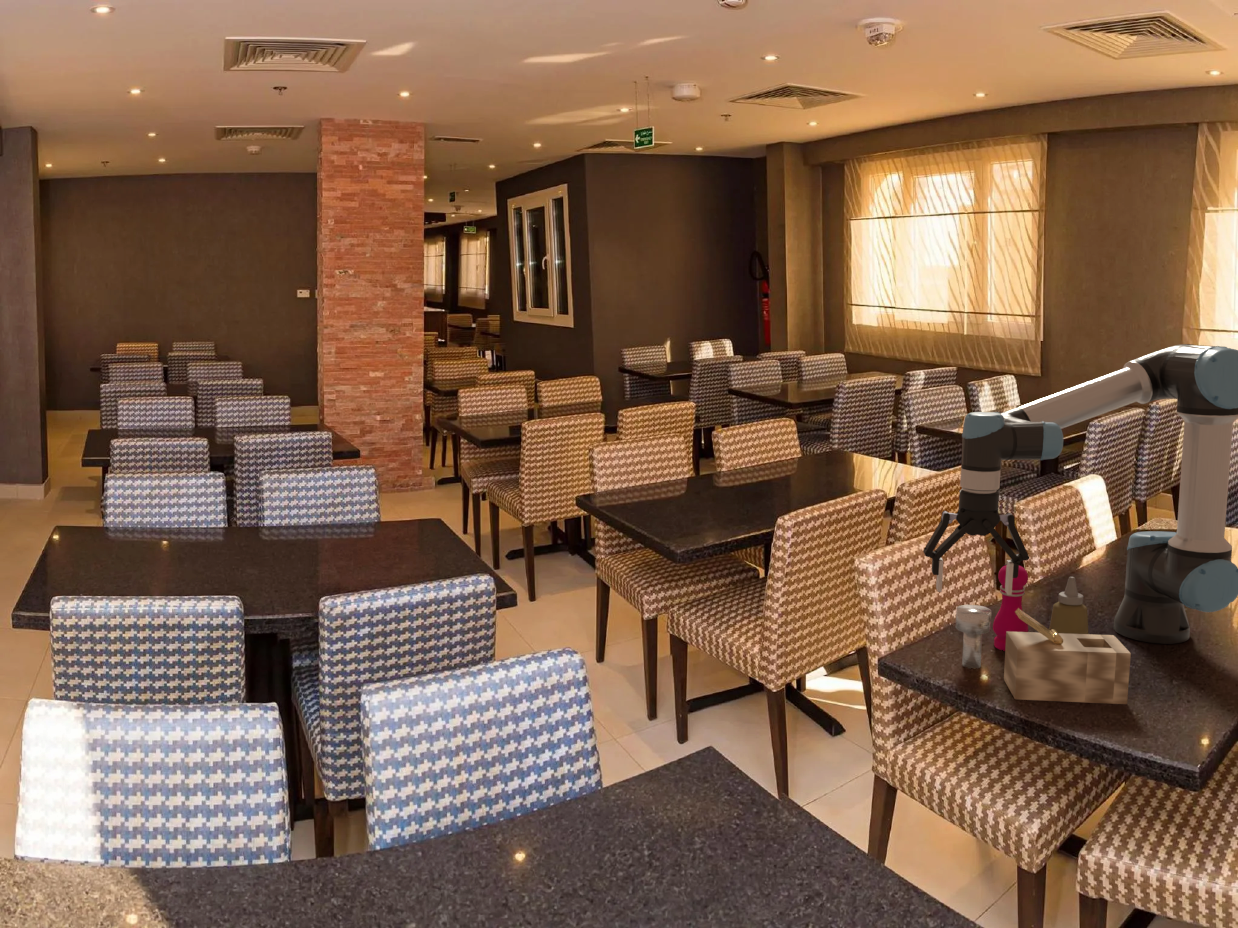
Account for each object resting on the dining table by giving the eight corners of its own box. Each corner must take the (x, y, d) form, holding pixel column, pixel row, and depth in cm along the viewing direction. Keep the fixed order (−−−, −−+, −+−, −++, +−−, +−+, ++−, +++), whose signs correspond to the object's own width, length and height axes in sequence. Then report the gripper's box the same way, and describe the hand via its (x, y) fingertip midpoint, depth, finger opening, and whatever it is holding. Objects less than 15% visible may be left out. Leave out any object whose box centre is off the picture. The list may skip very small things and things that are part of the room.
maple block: (1110, 683, 201) (1113, 635, 199) (1126, 704, 191) (1130, 653, 189) (1003, 679, 204) (1006, 631, 202) (1014, 699, 194) (1017, 648, 192)
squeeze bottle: (1085, 670, 208) (1090, 585, 204) (1042, 663, 212) (1047, 579, 209) (1090, 658, 214) (1096, 575, 211) (1049, 651, 219) (1054, 570, 215)
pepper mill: (1030, 653, 217) (1035, 563, 214) (994, 652, 219) (998, 561, 215) (1023, 642, 224) (1028, 554, 221) (989, 640, 226) (993, 552, 222)
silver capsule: (985, 660, 214) (988, 605, 212) (991, 672, 207) (994, 615, 205) (951, 658, 215) (953, 604, 213) (957, 670, 208) (959, 614, 206)
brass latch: (1053, 638, 198) (1058, 632, 198) (1059, 646, 194) (1065, 640, 193) (1014, 611, 198) (1020, 605, 198) (1019, 618, 194) (1025, 612, 194)
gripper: (1040, 487, 207) (1033, 588, 210) (912, 484, 210) (908, 583, 214) (1049, 495, 199) (1042, 599, 203) (917, 491, 203) (912, 594, 207)
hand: (973, 591), depth 209 cm, fingers open, 13 cm apart
